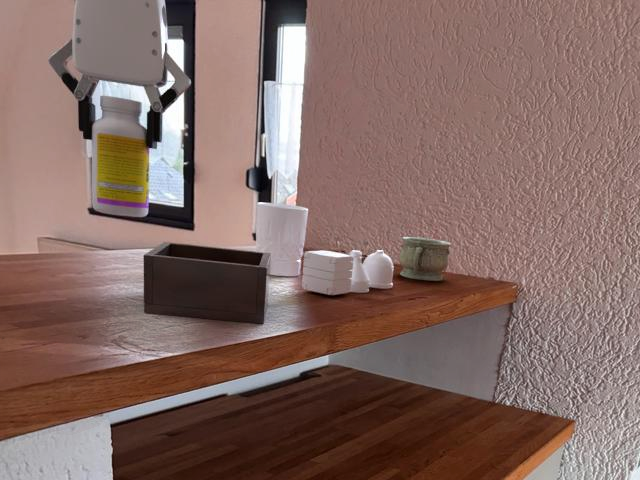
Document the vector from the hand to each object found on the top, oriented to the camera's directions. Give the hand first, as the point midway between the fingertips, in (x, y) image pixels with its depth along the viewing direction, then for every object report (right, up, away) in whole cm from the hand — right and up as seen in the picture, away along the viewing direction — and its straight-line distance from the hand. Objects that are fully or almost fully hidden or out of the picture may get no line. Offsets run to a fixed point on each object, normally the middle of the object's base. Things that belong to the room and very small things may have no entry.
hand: (120, 142), depth 88 cm
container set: (+28, -12, +21) cm, 37 cm away
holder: (+11, -20, -3) cm, 24 cm away
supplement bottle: (-1, -8, +3) cm, 8 cm away
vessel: (+40, -5, +42) cm, 58 cm away
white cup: (+16, -8, +27) cm, 33 cm away
